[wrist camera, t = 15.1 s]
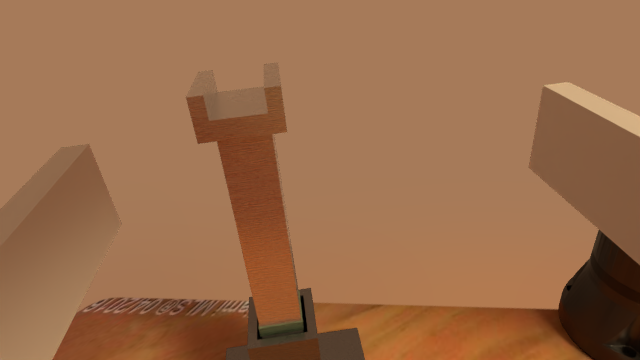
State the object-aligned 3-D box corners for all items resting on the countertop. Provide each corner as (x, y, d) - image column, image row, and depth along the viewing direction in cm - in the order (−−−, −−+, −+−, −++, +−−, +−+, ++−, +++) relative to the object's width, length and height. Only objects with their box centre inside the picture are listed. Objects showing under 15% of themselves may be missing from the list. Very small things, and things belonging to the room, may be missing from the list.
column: (314, 332, 44) (277, 62, 30) (321, 380, 39) (280, 85, 25) (261, 340, 44) (198, 72, 30) (260, 390, 39) (185, 97, 25)
